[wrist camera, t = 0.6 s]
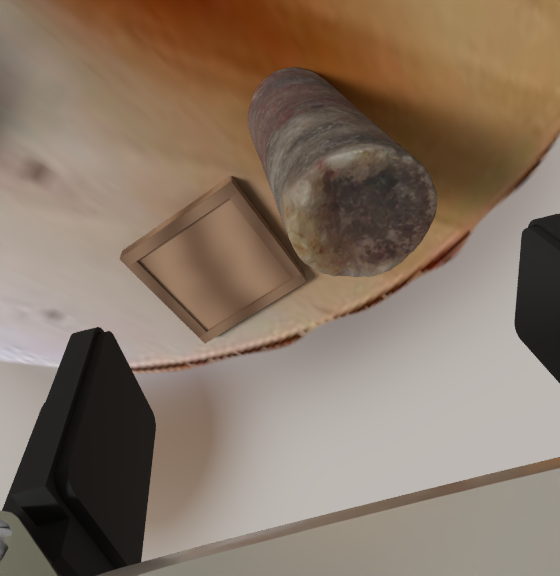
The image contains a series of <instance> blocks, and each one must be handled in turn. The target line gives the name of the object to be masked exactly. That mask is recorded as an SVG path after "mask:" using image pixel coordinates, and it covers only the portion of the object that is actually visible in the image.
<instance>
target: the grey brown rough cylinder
mask: <svg viewBox="0 0 560 576" xmlns="http://www.w3.org/2000/svg"><path fill="white" fill-rule="evenodd" d="M248 126H249V130H250V134H251V137H252V140H253V143H254V145H255V148H256V151H257V153H258V156H259V158H260V160H261V163H262V165H263V169H264V171H265V174H266V176H267V179H268V182H269V185H270V188H271V190H272V193H273V196H274V198H275V201H276V204H277V207H278V210H279V213H280V216H281V218H282V221H283V223H284V226H285V228H286V231H287V234H288V237H289V239H290V241H291V244H292V246H293V248H294V250H295V252H296V253H297V255H298V257H299V258H300V259H301V260H302V261H303V262H304V263H305V264H307V265H309V266H310V267H312V268H313V269H315V270H317V271H319V272H321V273H325V274H329V275H332V276H353V277H362V276H367V277H370V276H375V275H378V274H381V273H384V272H387V271H389V270H391V269H392V268H394V267H395V266H397V265H398V264H399V263H401V262H402V261H403V260H404V259H405V258H406V257H407V256H408V255H409V254H410V253H411V252H413V251H414V249H415V248H416V247H417V246H418V245H419V244H420V243H421V241H422V240H423V238H424V236H425V235H426V233H427V232H428V230H429V227H430V225H431V223H432V221H433V219H434V217H435V213H436V206H437V194H436V190H435V187H434V185H433V182H432V180H431V178H430V175H429V173H428V171H427V170H426V169H425V167H424V166H423V165H422V164H421V163H420V162H419V161H418V160H417V159H416V158H415V157H414V156H412V155H411V154H410V153H409V152H407V151H406V150H405V149H404V148H403V147H402V146H400V145H399V144H398V143H396V142H395V141H394V140H393V139H392V138H391V137H390V136H388V135H387V134H386V133H385V132H384V131H383V130H381V129H380V128H379V127H378V126H377V125H376V124H375V123H373V122H372V121H371V120H370V119H369V118H368V117H366V116H365V115H364V114H363V113H362V112H361V111H360V110H358V109H357V108H356V107H355V106H354V105H353V104H352V103H351V102H350V101H349V100H347V99H346V98H345V97H344V96H343V95H342V94H341V93H340V92H339V91H338V90H336V89H335V88H334V87H333V86H332V85H331V84H329V83H328V82H327V81H326V80H324V79H323V78H322V77H320V76H319V75H317V74H316V73H314V72H311V71H308V70H305V69H302V68H297V67H294V68H285V69H282V70H279V71H277V72H275V73H273V74H272V75H270V76H269V77H267V78H266V79H265V80H263V81H262V83H261V84H260V85H259V86H258V87H257V89H256V91H255V92H254V95H253V98H252V101H251V104H250V108H249V114H248Z"/></svg>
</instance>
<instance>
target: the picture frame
mask: <svg viewBox="0 0 560 576" xmlns="http://www.w3.org/2000/svg"><path fill="white" fill-rule="evenodd" d="M120 260H121V261H122V262H123V263H124V264H125V265H126V266H127V267H128V268H129V269H130V270H131V271H132V272H133V273H134V274H135V275H136V276H137V277H138V278H139V279H140V280H141V281H142V282H143V283H144V284H145V285H146V286H147V287H148V288H149V289H150V290H151V291H152V292H153V293H154V294H155V295H156V296H157V297H158V298H159V299H160V300H161V301H162V302H163V303H164V304H165V305H166V306H167V307H169V308H170V309H171V310H172V311H173V312H174V313H175V314H176V315H177V316H178V317H179V318H180V319H181V320H182V321H183V322H184V323H185V324H186V325H187V326H188V327H189V328H190V329H191V330H192V331H193V332H194V333H195V334H196V335H197V336H198V337H199V338H200V339H201V340H202V341H203V342H204V343H207V342H208V341H210V340H212V339H213V338H215V337H217V336H218V335H220V334H221V333H223V332H225V331H226V330H228V329H230V328H231V327H233V326H235V325H236V324H238V323H239V322H241V321H243V320H244V319H246V318H248V317H249V316H251V315H253V314H254V313H256V312H257V311H259V310H261V309H262V308H264V307H266V306H267V305H269V304H271V303H272V302H274V301H275V300H277V299H279V298H280V297H282V296H284V295H285V294H287V293H289V292H290V291H292V290H294V289H295V288H297V287H298V286H300V285H302V284H303V283H305V282H307V281H306V278H305V275H304V273H303V271H302V270H301V269H300V267H299V266H298V265H297V263H296V262H295V261H294V259H293V258H292V257H291V255H290V254H289V253H288V251H287V250H286V249H285V247H284V246H283V245H282V243H281V242H280V241H279V239H278V238H277V237H276V235H275V234H274V233H273V231H272V230H271V229H270V227H269V226H268V225H267V223H266V222H265V221H264V219H263V218H262V217H261V215H260V214H259V213H258V211H257V210H256V209H255V207H254V206H253V205H252V203H251V202H250V201H249V199H248V198H247V197H246V195H245V194H244V193H243V191H242V190H241V189H240V187H239V186H238V185H237V183H236V182H235V181H234V179H233V178H232V177H231V176H230V177H229V178H227V179H226V180H224V181H223V182H222V183H220V184H219V185H217V186H216V187H214V188H213V189H211V190H210V191H209V192H207V193H206V194H204V195H203V196H201V197H200V198H198V199H197V200H196V201H194V202H193V203H191V204H190V205H188V206H187V207H185V208H184V209H182V210H181V211H180V212H178V213H177V214H175V215H174V216H172V217H171V218H169V219H168V220H167V221H165V222H164V223H162V224H161V225H159V226H158V227H156V228H155V229H154V230H152V231H151V232H149V233H148V234H146V235H145V236H143V237H142V238H140V239H139V240H138V241H136V242H135V243H133V244H132V245H130V246H129V247H127V248H126V249H125V250H123V251H122V253H121V257H120Z"/></svg>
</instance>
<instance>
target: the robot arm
mask: <svg viewBox="0 0 560 576" xmlns="http://www.w3.org/2000/svg"><path fill="white" fill-rule="evenodd" d="M520 251H521V252H520V262H519V276H518V287H517V299H516V312H515V329H516V332H517V334H518V336H519V338H520V339H521V340H522V341H523V342H524V344H525V345H526V346H527V347H528V348H529V349H530V350H531V352H532V353H533V354H534V355H535V356H536V357H537V358H538V359H539V360H540V362H541V363H542V364H543V365H544V366H545V367H546V368H547V370H548V371H549V372H550V373H551V374H552V375H553V376H554V377H555V378H556V380H557V381H558V382H559V383H560V214H555V215H551V216H547V217H543V218H539V219H535V220H532V221H531V222H530V224H529V226H528V228H526V229H524V231H523V232H522V238H521V250H520ZM155 431H156V423H155V417H154V414H153V412H152V410H151V408H150V406H149V404H148V402H147V400H146V398H145V396H144V394H143V392H142V390H141V388H140V386H139V384H138V382H137V380H136V378H135V376H134V374H133V372H132V370H131V368H130V366H129V364H128V362H127V360H126V358H125V357H124V355H123V353H122V351H121V349H120V347H119V345H118V343H117V341H116V339H115V337H114V335H113V334H112V333H111V332H110V331H107V332H104V331H103V330H102V329H101V328H99V327H97V328H92V329H88V330H84V331H80V332H76V333H73V334H72V335H71V337H70V339H69V342H68V345H67V347H66V350H65V353H64V355H63V358H62V360H61V363H60V366H59V368H58V371H57V374H56V376H55V379H54V381H53V384H52V387H51V389H50V392H49V395H48V397H47V400H46V402H45V403H44V405H43V407H42V408H41V411H40V413H39V416H38V419H37V421H36V424H35V427H34V429H33V431H32V434H31V437H30V439H29V442H28V445H27V447H26V450H25V452H24V455H23V457H22V461H21V463H20V465H19V468H18V471H17V473H16V476H15V478H14V481H13V483H12V486H11V489H10V491H9V494H8V496H7V499H6V502H5V504H4V507H3V509H2V511H0V576H560V457H558V458H554V459H549V460H545V461H541V462H537V463H533V464H529V465H525V466H521V467H517V468H512V469H508V470H504V471H500V472H496V473H491V474H487V475H483V476H479V477H475V478H471V479H468V480H463V481H459V482H455V483H451V484H447V485H443V486H439V487H435V488H430V489H426V490H422V491H418V492H414V493H411V494H406V495H402V496H399V497H394V498H390V499H386V500H382V501H378V502H374V503H370V504H366V505H362V506H358V507H354V508H350V509H346V510H342V511H338V512H334V513H330V514H326V515H322V516H318V517H314V518H310V519H306V520H302V521H298V522H294V523H290V524H286V525H282V526H278V527H274V528H270V529H266V530H262V531H258V532H255V533H250V534H247V535H243V536H239V537H235V538H231V539H227V540H223V541H219V542H215V543H211V544H208V545H203V546H199V547H196V548H192V549H189V550H185V551H181V552H177V553H174V554H170V555H167V556H163V557H159V558H155V559H152V560H148V561H144V562H141V557H142V548H143V540H144V531H145V521H146V512H147V503H148V494H149V485H150V476H151V467H152V458H153V449H154V440H155Z"/></svg>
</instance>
